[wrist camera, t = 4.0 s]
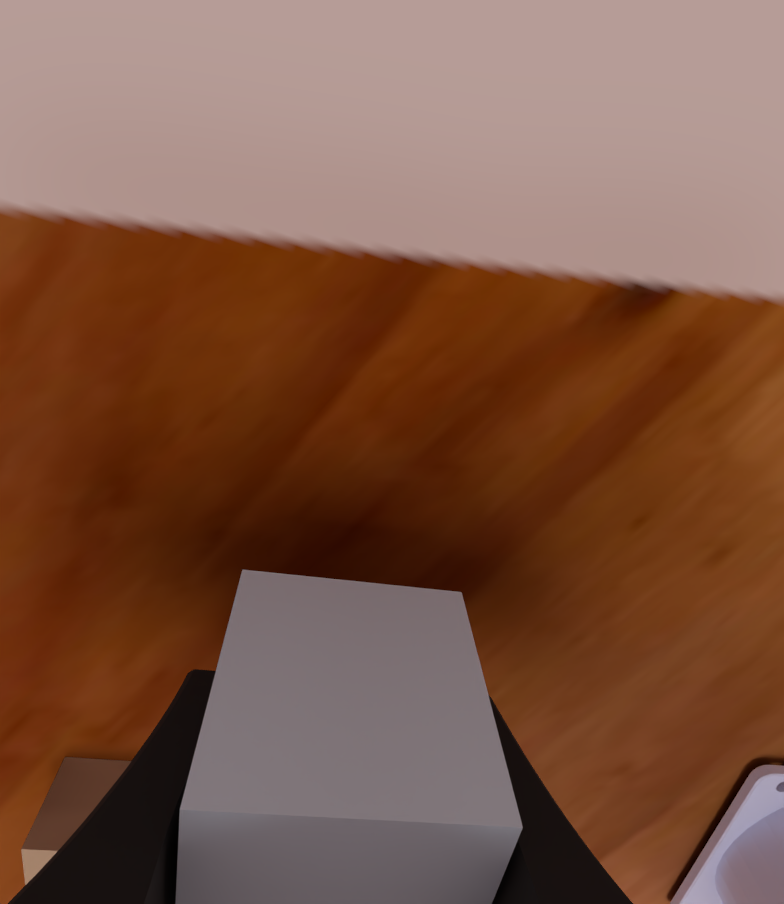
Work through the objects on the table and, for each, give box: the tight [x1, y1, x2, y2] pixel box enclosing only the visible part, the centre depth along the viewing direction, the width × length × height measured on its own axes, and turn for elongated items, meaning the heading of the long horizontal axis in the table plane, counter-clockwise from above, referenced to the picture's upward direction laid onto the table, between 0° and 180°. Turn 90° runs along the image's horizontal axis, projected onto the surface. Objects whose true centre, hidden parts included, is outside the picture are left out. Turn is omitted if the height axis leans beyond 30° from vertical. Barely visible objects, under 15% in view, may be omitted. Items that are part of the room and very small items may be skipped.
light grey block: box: [176, 569, 523, 904], centre depth 11 cm, size 4×4×5 cm
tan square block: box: [21, 757, 131, 885], centre depth 19 cm, size 8×8×3 cm
